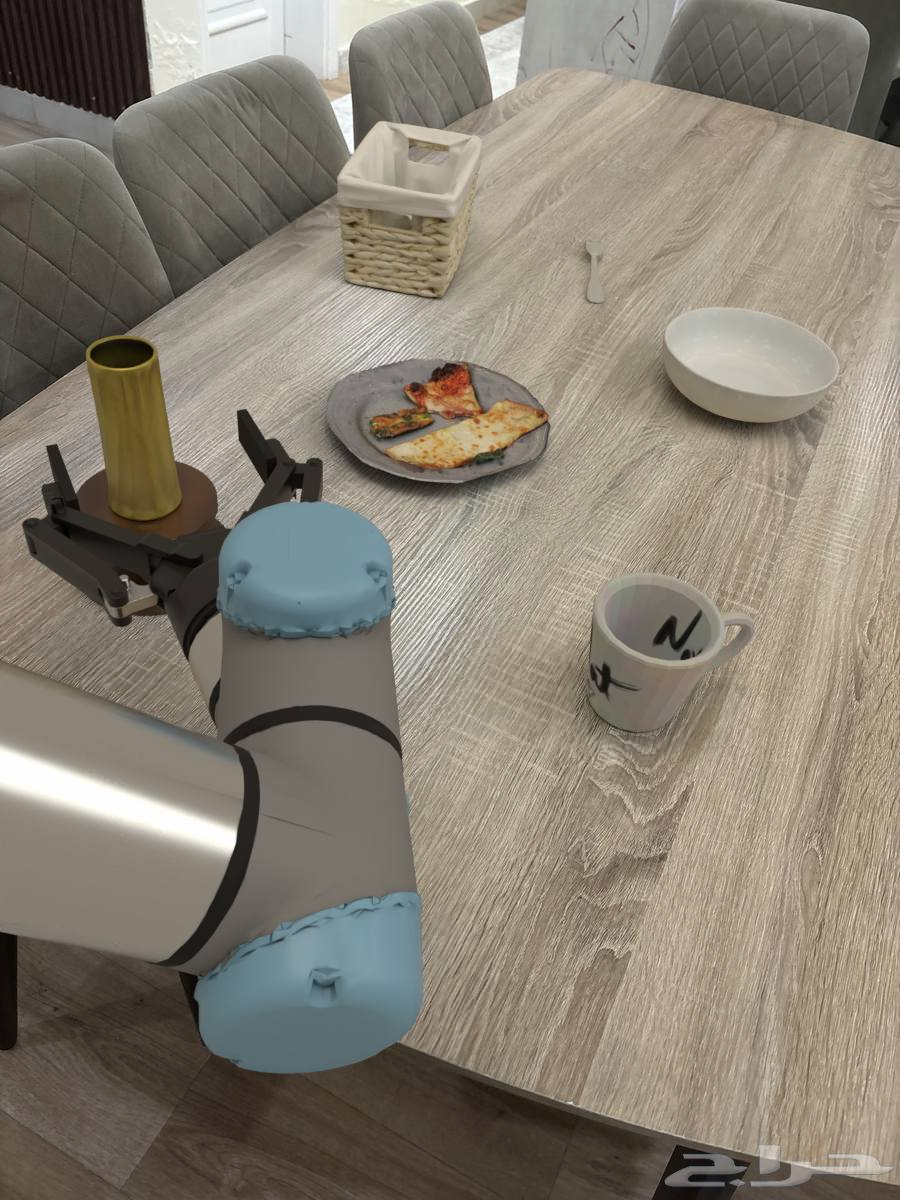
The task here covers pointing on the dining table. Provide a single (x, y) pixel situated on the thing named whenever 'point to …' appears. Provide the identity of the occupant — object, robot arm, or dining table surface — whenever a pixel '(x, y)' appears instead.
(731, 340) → the serving bowl
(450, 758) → the dining table surface
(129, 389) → the vase
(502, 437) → the food plate
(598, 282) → the fork
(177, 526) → the stand
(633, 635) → the mug
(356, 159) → the basket
